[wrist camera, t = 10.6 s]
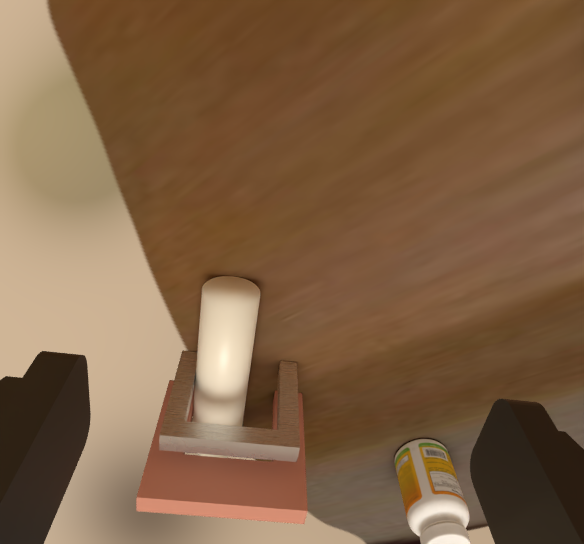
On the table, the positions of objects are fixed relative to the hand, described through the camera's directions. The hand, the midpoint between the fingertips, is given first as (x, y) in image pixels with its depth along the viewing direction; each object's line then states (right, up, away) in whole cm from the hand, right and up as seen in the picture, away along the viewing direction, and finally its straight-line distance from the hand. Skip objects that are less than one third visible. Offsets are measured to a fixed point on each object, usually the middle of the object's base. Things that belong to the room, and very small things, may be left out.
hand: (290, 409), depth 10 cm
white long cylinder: (-4, -5, +35) cm, 35 cm away
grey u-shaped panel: (-5, -5, +35) cm, 36 cm away
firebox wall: (-5, -10, +38) cm, 39 cm away
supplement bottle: (+13, -16, +42) cm, 46 cm away
